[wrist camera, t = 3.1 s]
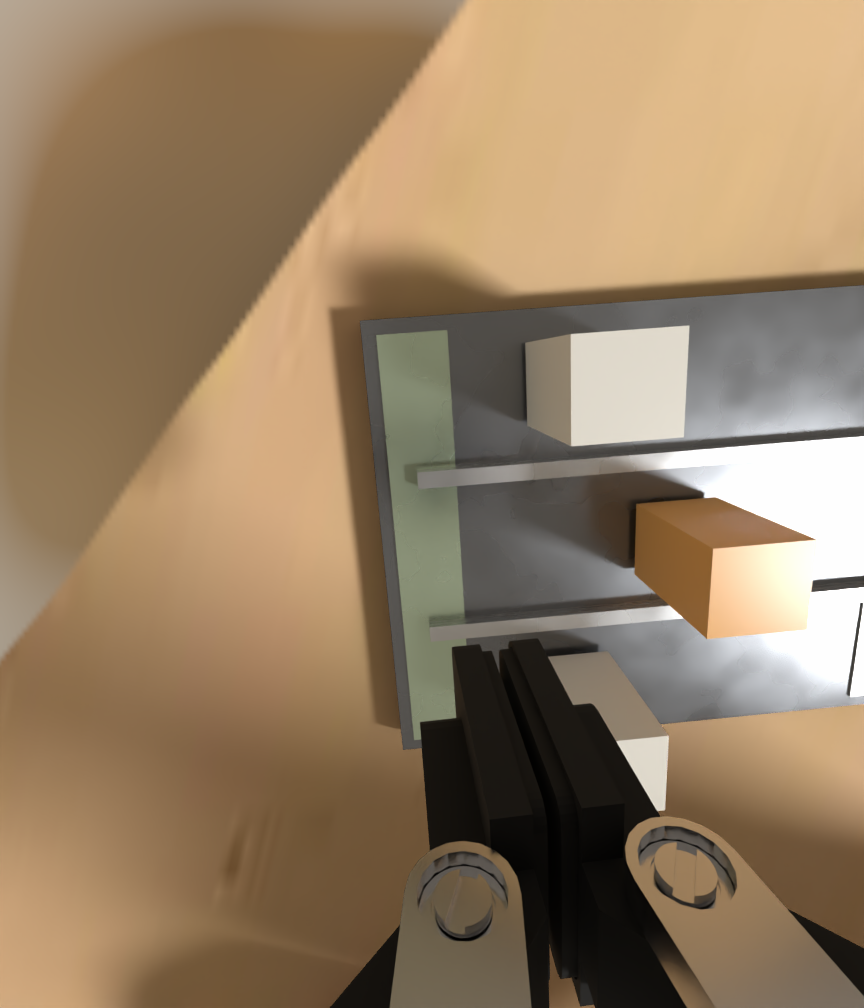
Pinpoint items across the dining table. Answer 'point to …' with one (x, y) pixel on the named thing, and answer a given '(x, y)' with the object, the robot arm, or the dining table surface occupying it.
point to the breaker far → (619, 715)
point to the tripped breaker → (725, 566)
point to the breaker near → (608, 385)
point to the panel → (618, 499)
